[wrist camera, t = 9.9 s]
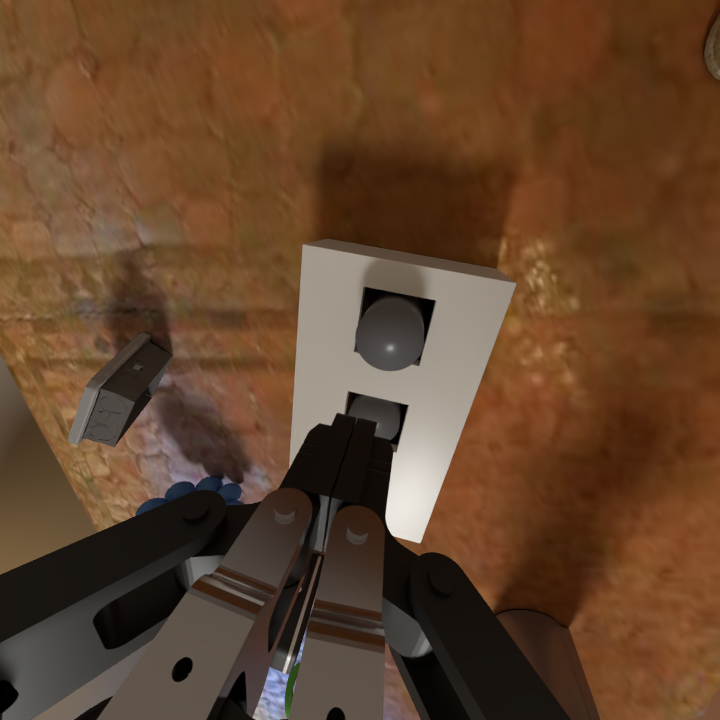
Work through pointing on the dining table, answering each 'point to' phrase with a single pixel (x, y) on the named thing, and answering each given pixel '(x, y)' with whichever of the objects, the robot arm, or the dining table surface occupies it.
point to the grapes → (179, 489)
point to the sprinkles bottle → (713, 50)
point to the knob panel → (407, 386)
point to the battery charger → (297, 619)
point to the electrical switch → (119, 392)
